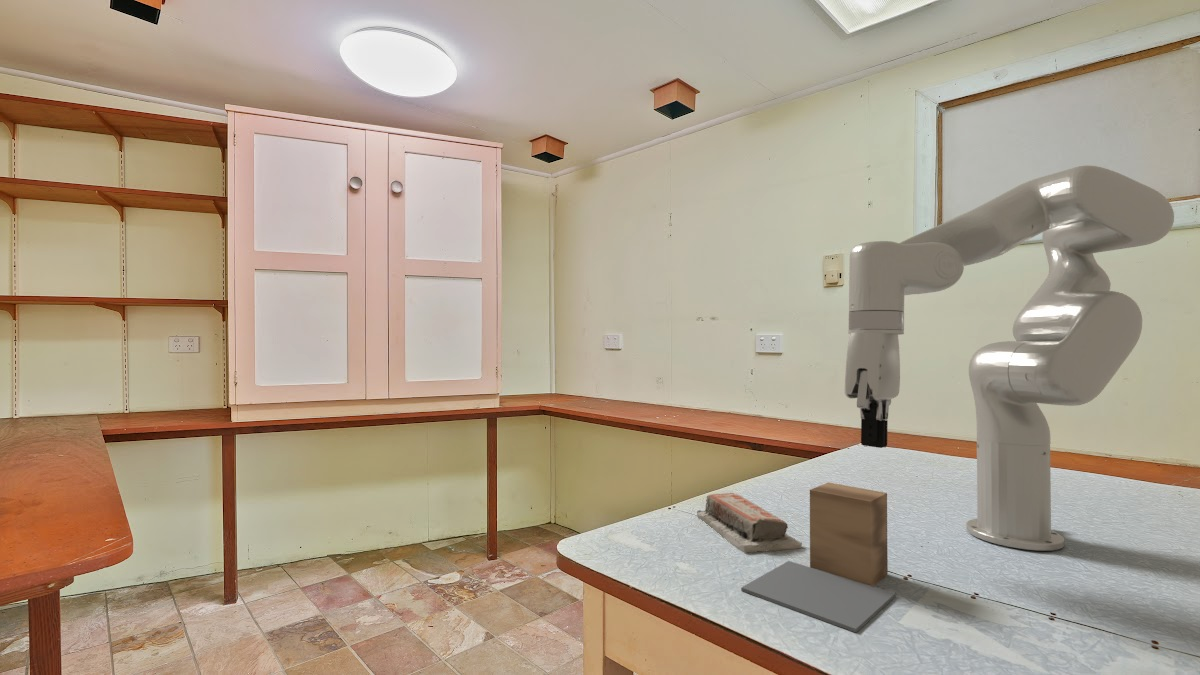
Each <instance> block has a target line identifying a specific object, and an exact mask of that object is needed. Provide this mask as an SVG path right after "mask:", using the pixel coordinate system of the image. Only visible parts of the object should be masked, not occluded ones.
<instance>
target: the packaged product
mask: <svg viewBox="0 0 1200 675" xmlns="http://www.w3.org/2000/svg"><path fill="white" fill-rule="evenodd" d="M705 501H706V503H705V510H697V511H696V517H698V518H697V519H699V520H700V519H701V520H702V521H701V520H700V521H701V522H703V521H704V522H705V523H706V524H708V525H709V526H710V527H711V528H713V529H714V530H715V531H716V532H717V533H719V534H720V535H721V536H722V537H721V536H720V535H719V534H718V535H719V536H720V537H721V538H723V539H724V538H725V539H726V540H727V541H726V540H725V539H724V540H725V541H726V542H728V543H729V542H730V543H729V544H730V545H732V546H733V547H735V548H736V549H737V550H739V551H741V552H742V553H744V554H745V553H746V554H747V553H748V552H751V553H758V552H757V551H762V552H767V551H766V550H771V552H772V550H774V551H781V550H783V551H784V550H795V549H801V548H802V545H803V542H802V541H799V540H798V539H796V538H795V537H793V536H791V535H789V534H787V531H788V529H789V526H788V523H787V522H785V521H784V520H783V519H781V518H779V517H778V516H776V515H774V514H772V513H770V512H769V511H768V510H765V509H764V508H762V507H761V506H759V505H757V504H755V503H754V502H753V501H750V500H749V499H748V498H745V497H744V496H742V495H740V494H737V493H734V492H727V493H715V494H714V493H713V494H708V495H707V496H706V500H705ZM704 522H703V523H704ZM705 523H704V524H705ZM706 524H705V525H706ZM708 525H707V526H708ZM709 526H708V527H709ZM710 527H709V528H710ZM711 528H710V529H711ZM714 530H713V531H714ZM715 531H714V532H715ZM716 532H715V533H716ZM717 533H716V534H717ZM748 554H749V553H748Z"/></svg>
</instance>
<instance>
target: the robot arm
mask: <svg viewBox="0 0 1200 675" xmlns="http://www.w3.org/2000/svg"><path fill="white" fill-rule="evenodd" d="M1174 222H1175V212H1174V209H1173V206H1172V204H1171V202H1170V201H1169V200H1168V198H1166V196H1164V195H1163V194H1162V193H1160V191H1157V189H1156V190H1155V189H1154V188H1152V187H1151V186H1148V185H1146V184H1143V183H1141V182H1139V181H1136V180H1135V179H1132V178H1130V177H1128V176H1126V175H1124V174H1121V173H1119V172H1117V171H1115V170H1111V169H1108V168H1106V167H1101V166H1097V165H1079V166H1075V167H1072V168H1068V169H1066V170H1061V171H1058V172H1056V173H1055V172H1054V173H1052V174H1048V175H1044V176H1041V177H1038V178H1034V179H1032V180H1031V179H1030V180H1029V181H1025V182H1024V183H1022V184H1019V185H1017V186H1015V187H1014V188H1012V189H1010V190H1008V191H1006V192H1004V193H1002V194H999V196H996V197H995V198H993V199H991V200H989V201H987V202H985V203H983V204H981V205H979V206H977V207H975V208H973V209H971V210H970V211H967V212H964V213H963V214H960V215H957V216H955V217H953V218H951V219H948V220H947V221H945V222H943V223H941V224H938V225H937V226H933V227H931V228H929V229H926V230H925V231H921V232H920V233H918V234H915V235H913V236H911V237H909V238H906V239H905V240H902V241H901V242H896V241H890V240H889V241H888V240H879V241H878V240H877V241H867V242H862V243H859V244H857V245H855V246H853V247H852V248H851V250H850V252H849V269H848V270H849V273H848V274H849V275H848V276H849V277H848V278H849V280H848V288H849V289H848V330H847V331H848V335H849V339H848V345H847V351H846V361H845V378H844V395H845V396H846V397H847V398H848V399H856V408H858V409H859V410H860V414H859V415H860V419H861V421H860V423H861V424H860V427H861V428H860V430H861V431H860V443H861V445H862V446H864V447H872V448H877V449H879V448H880V449H882V448H885V447H887V446H888V419H889V412H890V411H889V409H890V408H889V407H890V406H891V404H892V399H895V398H897V397H898V396H899V394H900V386H901V359H900V356H901V355H900V342H899V340H900V339H899V335H905V296H908V295H909V296H910V295H922V294H929V293H936V292H941V291H945V290H947V289H949V288H951V287H952V286H954V285H955V284H957V283H958V281H959V280H960V279H961V277H962V276H963V273H964V269H965V267H966V266H970V265H974V264H978V263H983V262H985V261H988V260H992V259H994V258H997V257H1000V256H1003V255H1004V254H1006V253H1008V252H1010V251H1011V250H1013V249H1015V248H1016V247H1018V246H1020V245H1022V244H1023V243H1025V242H1028V241H1029V240H1031V239H1033V238H1034V237H1036V236H1038V235H1040V234H1042V235H1041V238H1042V239H1041V240H1042V244H1043V247H1044V252H1045V255H1046V259H1047V262H1048V274H1047V277H1046V278H1045V279H1044V281H1043V282H1042V284H1041V285H1040V286H1039V287H1038V289H1037V290H1036V291H1035V292H1034V294H1033V295H1032V296H1031V298H1030V299H1029V300H1028V301H1027V302H1026V304H1025V305H1023V308H1022V309H1021V310H1020V312H1019V313H1018V315H1017V316H1016V318H1015V320H1014V322H1013V324H1012V336H1013V337H1014V339H1015V340H1014V341H1013V340H1012V341H1007V340H1006V341H997V342H993V343H988V344H986V345H984V346H982V347H980V348H978V349H977V350H976V351H975V352H974V353H973V355H972V356H971V359H970V360H969V364H968V376H969V382H970V386H971V389H972V391H971V392H972V393H973V400H974V404H975V405H974V406H975V415H976V490H977V491H976V493H977V494H976V495H977V496H976V500H977V502H976V503H977V504H976V507H977V511H976V512H977V513H976V514H977V518H972V519H970V520H968V521H966V524H965V526H966V528H965V529H966V531H967V532H968V533H969V534H970V535H971V536H973V537H975V538H978V539H980V540H983V541H986V542H988V543H993V544H995V545H999V546H1004V547H1008V548H1013V549H1021V550H1026V551H1039V552H1040V551H1043V552H1045V551H1047V552H1048V551H1058V550H1061V549H1063V548H1064V547H1065V538H1064V537H1063V536H1062V535H1061V534H1060V533H1059V532H1057V531H1054V530H1052V515H1051V514H1052V503H1051V501H1052V499H1051V496H1052V494H1051V492H1052V490H1051V430H1050V426H1049V422H1048V421H1047V418H1046V416H1045V414H1044V413H1043V412H1042V410H1041V408H1040V406H1039V405H1038V404H1041V405H1042V404H1043V405H1044V404H1045V405H1055V406H1064V407H1065V406H1068V407H1071V406H1072V407H1073V406H1076V407H1077V406H1082V405H1085V404H1088V403H1089V402H1091V401H1093V400H1094V399H1096V398H1097V397H1098V396H1100V394H1101V393H1102V392H1103V390H1104V389H1105V388H1106V387H1107V385H1108V384H1109V383H1110V382H1111V380H1112V379H1113V378H1114V376H1115V375H1116V373H1117V372H1118V371H1119V369H1120V368H1121V366H1122V365H1123V363H1124V362H1125V361H1126V360H1127V358H1128V357H1129V355H1130V354H1131V353H1132V351H1133V350H1134V348H1135V347H1136V345H1137V344H1138V342H1139V339H1140V336H1141V334H1142V330H1143V316H1142V315H1143V314H1142V311H1141V309H1140V307H1139V305H1138V303H1137V302H1136V301H1135V300H1134V299H1133V298H1131V297H1130V296H1129V295H1127V294H1125V293H1122V292H1119V291H1115V290H1111V280H1110V277H1109V276H1108V274H1107V273H1106V271H1105V270H1104V269H1103V268H1102V267H1101V266H1100V265H1099V264H1098V262H1097V260H1096V259H1095V256H1094V254H1096V253H1097V254H1099V253H1103V252H1110V251H1111V252H1112V251H1116V250H1117V251H1118V250H1123V249H1124V250H1125V249H1130V248H1136V247H1143V246H1147V245H1151V244H1154V243H1157V242H1158V241H1160V240H1162V239H1163V238H1165V237H1166V236H1167V235H1168V233H1170V231H1171V230H1172V227H1173V226H1174Z"/></svg>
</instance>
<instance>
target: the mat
mask: <svg viewBox="0 0 1200 675" xmlns="http://www.w3.org/2000/svg"><path fill="white" fill-rule="evenodd" d="M740 589H741V591H742V592H744V593H746V594H749V595H752V596H755V597H758V598H760V599H763V600H766V601H769V602H771V603H774V604H777V605H779V606H782V607H785V608H787V609H791V610H793V611H796V612H799V613H802V614H804V615H807V616H809V617H812V618H815V619H818V620H819V621H820V620H821V621H822V622H823V621H824V622H826V623H828V624H831V625H834V626H836V627H840V628H841V629H842V628H843V629H845V630H847V631H850V632H853V633H857V632H858V631H860V630H861V629H862V628H863V627H864V626H865V625H866V624H867V623H868V622H870V620H872V619H873V617H875V616H876V615H877V614H878V613H880V611H881V610H882V609H884V608H885V607H886V606H887V605H888V604H889V603H890V602H891V601H893V599H895V598H896V595H897V594H896V592H893V591H891V590H890V591H889V590H887V589H884V588H883V589H882V588H880V587H876V586H875V585H874V586H870V585H867V584H864V583H860V582H857V581H854V580H851V579H847V578H844V577H841V576H837V575H834V574H831V573H827V572H824V571H821V570H817V569H814V568H811V567H810V566H808V565H807V566H806V565H803V564H800V563H798V562H793V561H791V560H788V561H786V562H784V563H782V564H781V565H779V566H777V567H775V568H774V569H772V570H770V571H768V572H767V573H764V574H762V575H761V576H759V577H757V578H756V579H754V580H752V581H750V582H749V583H746V584H745V585H743V586H742V587H741V588H740Z"/></svg>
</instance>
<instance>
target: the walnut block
mask: <svg viewBox="0 0 1200 675" xmlns="http://www.w3.org/2000/svg"><path fill="white" fill-rule="evenodd" d="M888 560H889V559H888V493H887V492H883V491H878V490H871V489H868V488H860V487H855V486H850V485H844V484H839V483H834V482H826V483H823V484H821V485H819V486H815V487H812V488H811V489H809V567H811V568H814V569H817V570H821V571H824V572H827V573H831V574H834V575H837V576H841V577H844V578H847V579H851V580H854V581H857V582H860V583H864V584H867V585H870V586H874V587H875V585H877V584H878V583H879V582H881V581H882V580H883V579H885V578H886V576H888V575H889V574H888V569H889V568H888V563H889V562H888Z"/></svg>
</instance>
